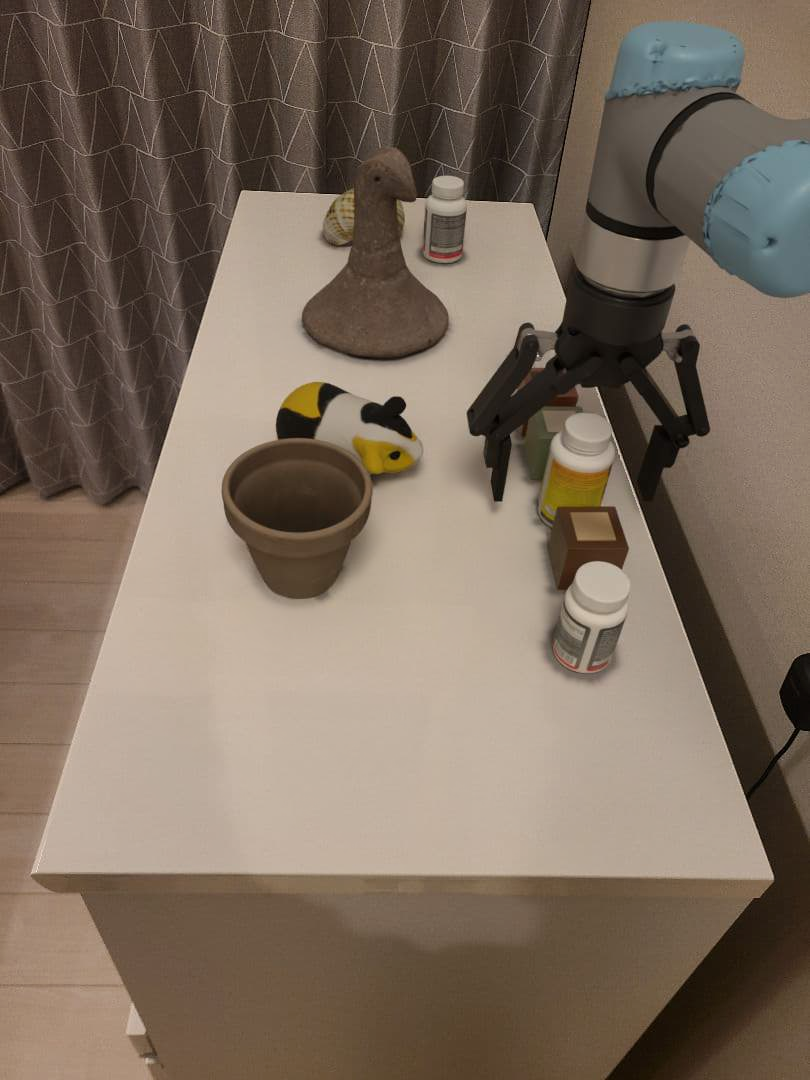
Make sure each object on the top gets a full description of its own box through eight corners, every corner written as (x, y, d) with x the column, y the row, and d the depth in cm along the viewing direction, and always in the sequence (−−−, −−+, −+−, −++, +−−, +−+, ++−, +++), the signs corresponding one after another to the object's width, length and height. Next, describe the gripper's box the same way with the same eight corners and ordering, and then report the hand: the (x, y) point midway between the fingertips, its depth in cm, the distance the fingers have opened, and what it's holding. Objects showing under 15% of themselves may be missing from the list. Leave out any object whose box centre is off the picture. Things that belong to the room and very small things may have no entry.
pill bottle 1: (470, 257, 111) (478, 183, 104) (440, 268, 109) (447, 194, 102) (443, 242, 114) (449, 169, 107) (413, 252, 112) (417, 179, 105)
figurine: (399, 512, 76) (403, 443, 70) (260, 460, 80) (253, 391, 75) (437, 461, 81) (443, 393, 76) (304, 415, 86) (301, 347, 80)
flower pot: (397, 560, 72) (402, 471, 65) (316, 647, 65) (312, 558, 58) (291, 506, 76) (285, 417, 69) (205, 582, 69) (188, 492, 62)
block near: (615, 589, 71) (629, 547, 67) (557, 589, 70) (568, 547, 67) (602, 547, 74) (615, 504, 70) (547, 547, 74) (557, 504, 70)
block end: (569, 437, 85) (579, 395, 81) (521, 437, 85) (528, 395, 81) (560, 407, 89) (569, 366, 85) (513, 407, 88) (520, 366, 85)
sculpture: (427, 374, 92) (441, 194, 77) (282, 347, 94) (270, 167, 80) (460, 300, 103) (477, 131, 89) (330, 278, 106) (327, 109, 92)
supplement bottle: (602, 535, 75) (629, 447, 68) (542, 536, 75) (563, 447, 67) (588, 493, 79) (612, 406, 72) (531, 494, 79) (549, 406, 71)
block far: (582, 479, 80) (593, 437, 77) (531, 479, 80) (539, 437, 76) (572, 446, 84) (582, 405, 80) (523, 446, 84) (531, 404, 80)
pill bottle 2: (610, 631, 67) (635, 561, 61) (612, 679, 64) (638, 609, 58) (551, 623, 68) (571, 552, 62) (550, 670, 64) (570, 600, 58)
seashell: (305, 235, 112) (324, 157, 108) (349, 246, 120) (368, 173, 116) (363, 256, 107) (384, 175, 104) (404, 266, 115) (426, 191, 112)
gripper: (773, 251, 64) (692, 464, 79) (448, 245, 62) (430, 464, 77) (811, 302, 58) (717, 519, 74) (458, 297, 57) (436, 521, 72)
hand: (570, 491), depth 75 cm, fingers open, 13 cm apart
